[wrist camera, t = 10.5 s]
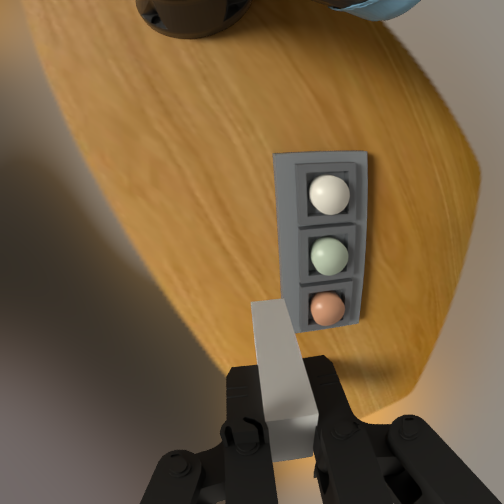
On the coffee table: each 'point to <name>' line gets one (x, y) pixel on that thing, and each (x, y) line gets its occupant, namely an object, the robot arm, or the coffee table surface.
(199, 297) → the coffee table surface
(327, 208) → the button cream
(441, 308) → the coffee table surface
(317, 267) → the button sage
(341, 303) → the button rust
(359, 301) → the panel
